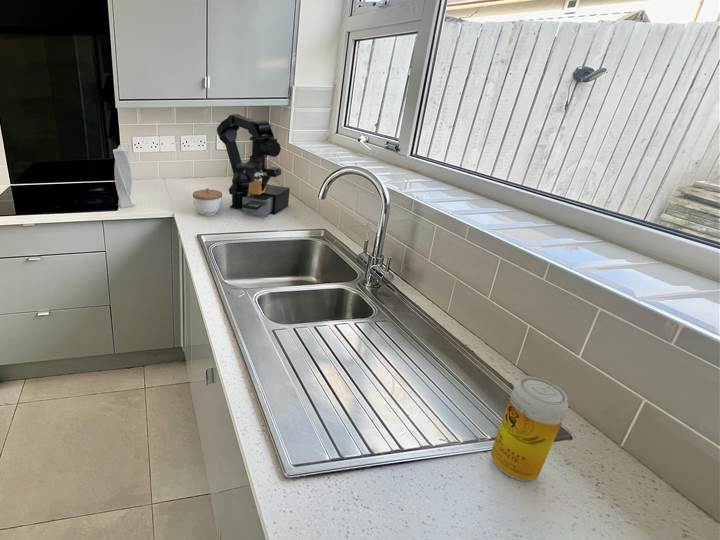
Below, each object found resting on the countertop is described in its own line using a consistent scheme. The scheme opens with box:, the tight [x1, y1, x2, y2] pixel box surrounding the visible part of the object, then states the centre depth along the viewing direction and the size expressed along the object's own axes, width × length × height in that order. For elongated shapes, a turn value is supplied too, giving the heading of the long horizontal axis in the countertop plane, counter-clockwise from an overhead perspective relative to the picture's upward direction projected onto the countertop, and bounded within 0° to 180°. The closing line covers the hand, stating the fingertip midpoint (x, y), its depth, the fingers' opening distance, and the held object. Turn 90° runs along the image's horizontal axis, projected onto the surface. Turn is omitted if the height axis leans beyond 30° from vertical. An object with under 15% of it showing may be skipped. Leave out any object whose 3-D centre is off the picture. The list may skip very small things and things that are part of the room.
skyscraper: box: [112, 142, 134, 209], centre depth 182 cm, size 8×8×28 cm
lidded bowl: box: [192, 188, 223, 217], centre depth 174 cm, size 13×13×11 cm
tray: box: [241, 194, 274, 218], centre depth 174 cm, size 18×11×7 cm, turn 147°
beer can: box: [490, 376, 569, 482], centre depth 60 cm, size 6×6×15 cm
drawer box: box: [250, 183, 290, 215], centre depth 182 cm, size 15×13×9 cm
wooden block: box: [249, 180, 266, 195], centre depth 170 cm, size 5×6×4 cm
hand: (257, 189), depth 171 cm, fingers closed on wooden block, 5 cm apart
